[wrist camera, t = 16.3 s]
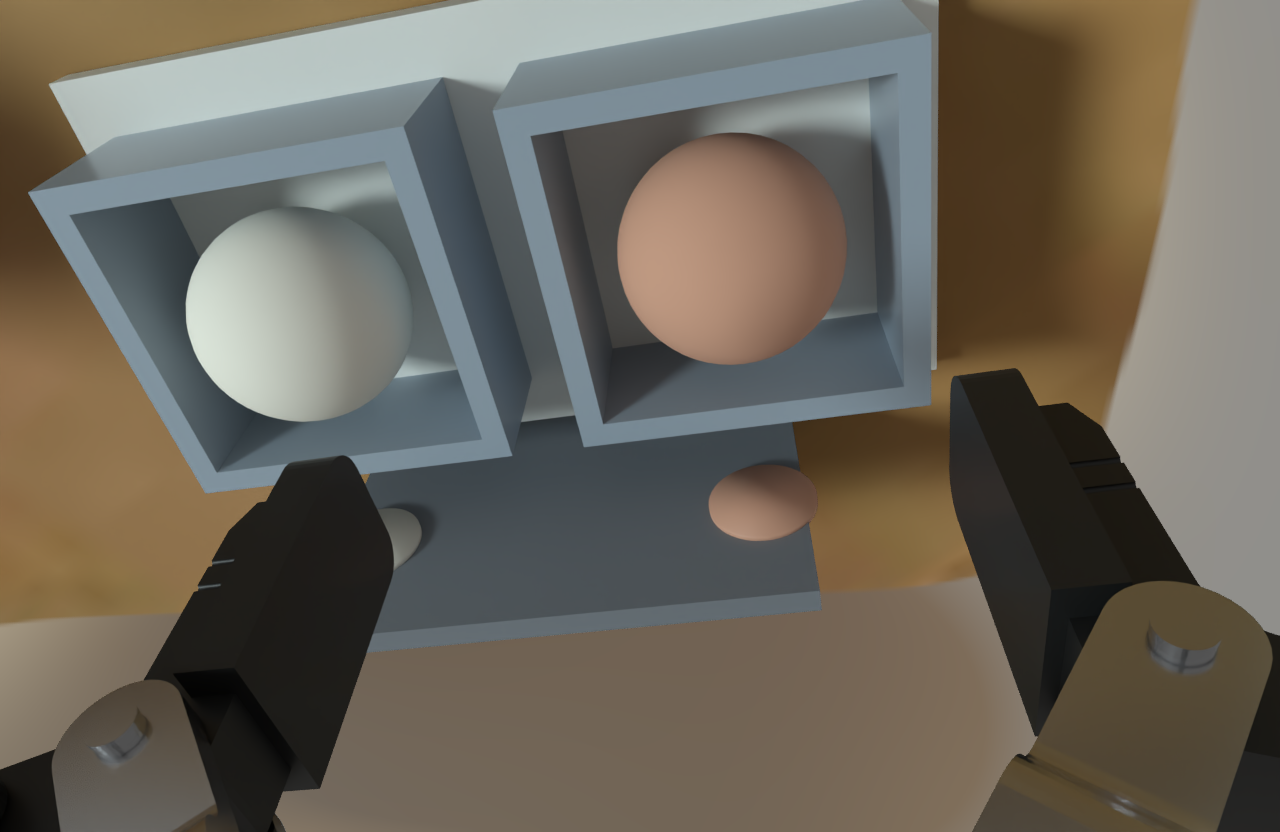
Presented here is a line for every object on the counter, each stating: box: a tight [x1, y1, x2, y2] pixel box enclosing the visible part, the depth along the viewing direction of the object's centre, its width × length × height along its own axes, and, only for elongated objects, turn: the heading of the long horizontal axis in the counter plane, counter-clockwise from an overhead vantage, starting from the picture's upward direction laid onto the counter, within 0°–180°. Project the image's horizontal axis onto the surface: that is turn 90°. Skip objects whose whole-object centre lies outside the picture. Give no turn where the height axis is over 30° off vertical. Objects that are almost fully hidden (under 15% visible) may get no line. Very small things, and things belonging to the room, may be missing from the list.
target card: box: [365, 415, 822, 653], centre depth 24 cm, size 1×13×8 cm, turn 100°
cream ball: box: [186, 206, 414, 422], centre depth 21 cm, size 5×5×5 cm
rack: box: [28, 0, 939, 493], centre depth 22 cm, size 11×20×4 cm, turn 100°
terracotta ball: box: [617, 132, 847, 365], centre depth 20 cm, size 5×5×5 cm
